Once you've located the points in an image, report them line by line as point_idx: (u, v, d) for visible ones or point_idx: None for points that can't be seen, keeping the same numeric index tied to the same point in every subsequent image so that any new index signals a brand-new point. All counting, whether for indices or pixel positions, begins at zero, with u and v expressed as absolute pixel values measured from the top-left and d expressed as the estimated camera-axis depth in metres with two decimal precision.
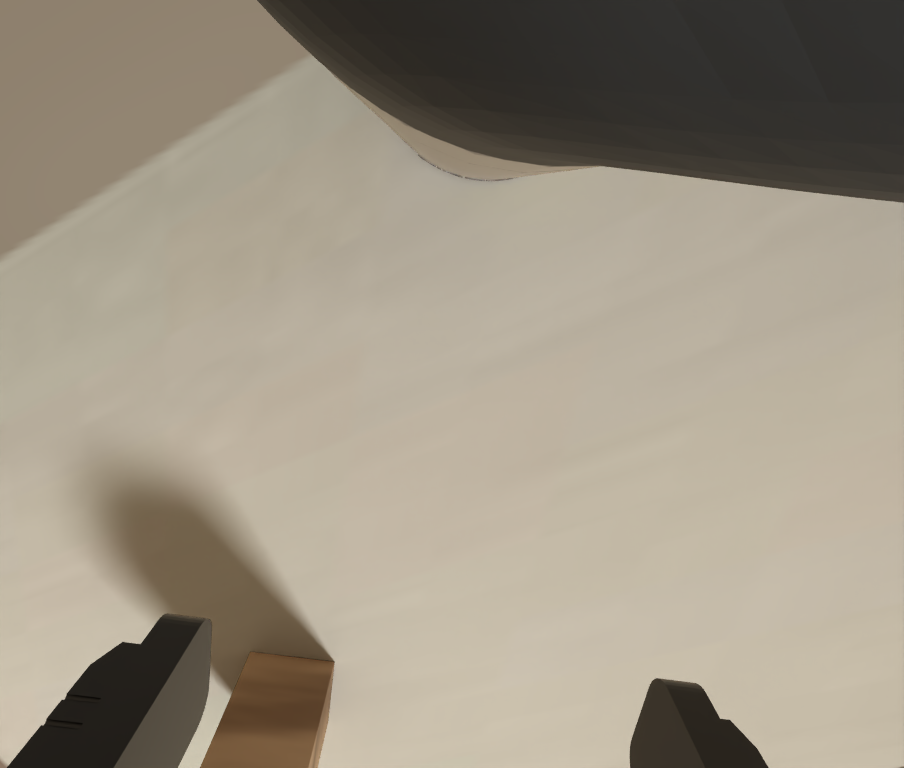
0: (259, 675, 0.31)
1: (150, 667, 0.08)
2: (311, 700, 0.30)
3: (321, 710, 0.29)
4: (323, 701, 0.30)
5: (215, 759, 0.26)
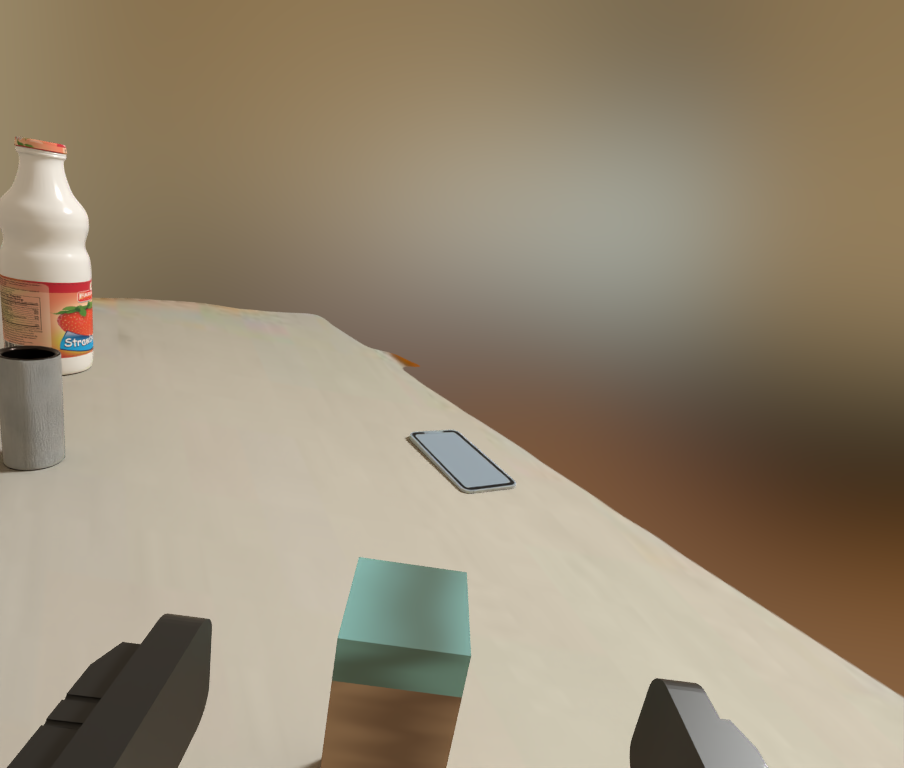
0: None
1: (150, 667, 0.08)
2: None
3: None
4: None
5: None
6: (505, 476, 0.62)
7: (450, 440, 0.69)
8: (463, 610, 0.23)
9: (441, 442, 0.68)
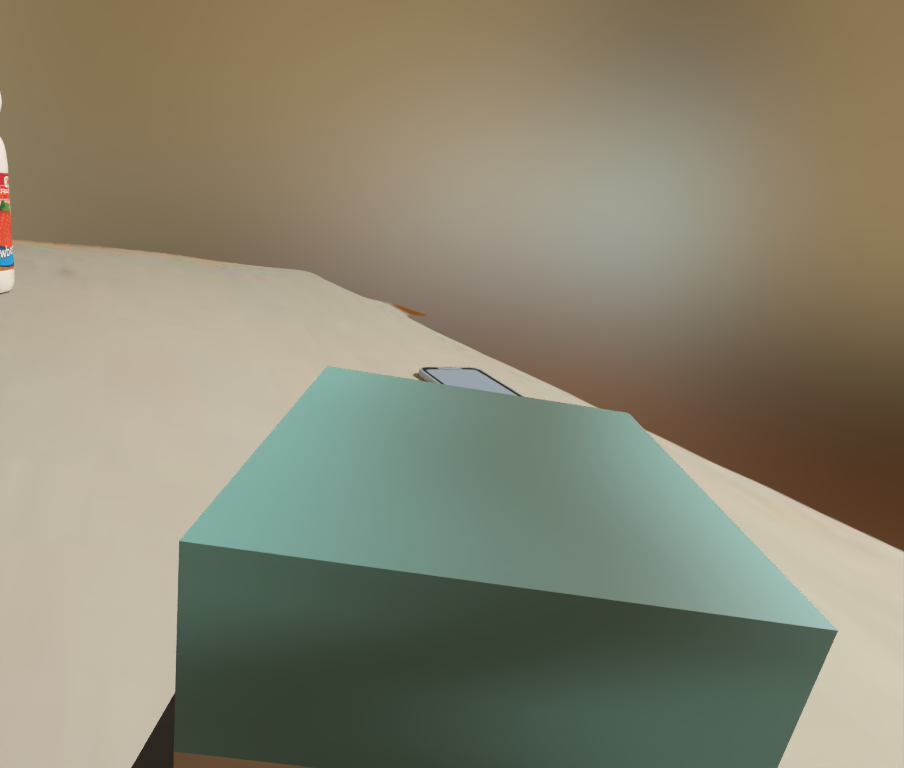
0: None
1: None
2: None
3: None
4: None
5: None
6: None
7: (471, 376, 0.53)
8: (680, 482, 0.06)
9: (460, 378, 0.52)
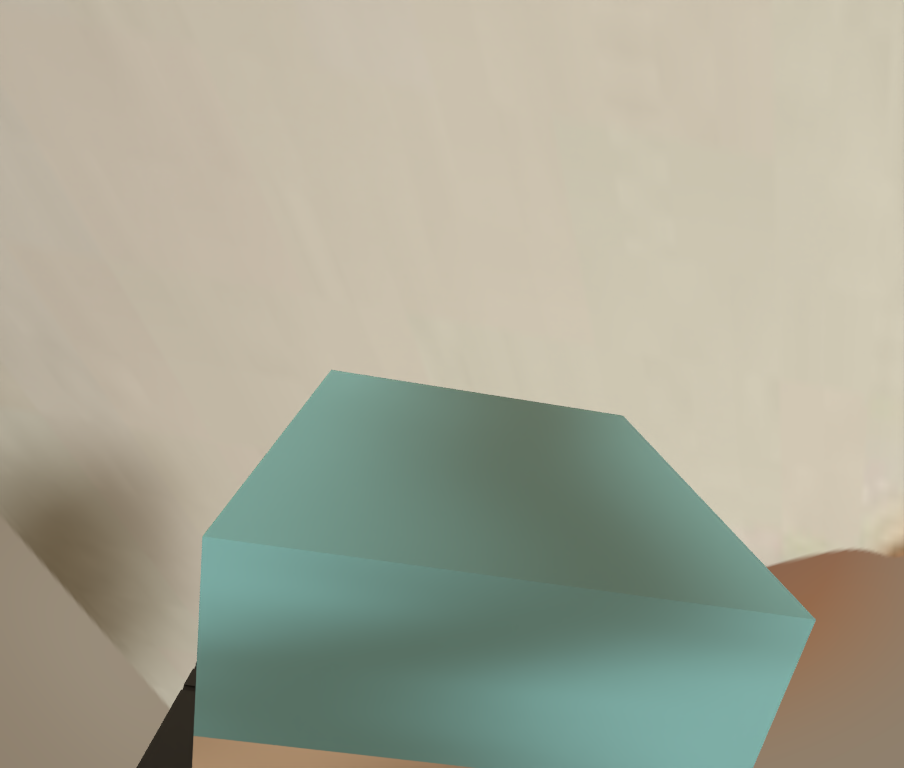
0: None
1: None
2: None
3: None
4: None
5: None
6: None
7: None
8: (671, 482, 0.07)
9: None
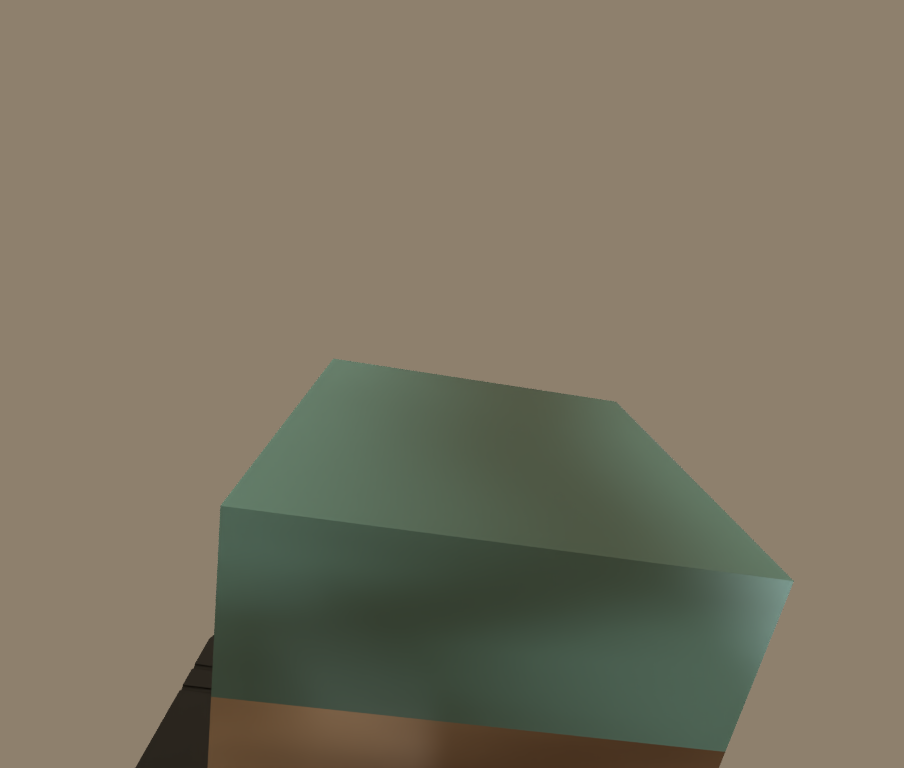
0: None
1: None
2: None
3: None
4: None
5: None
6: None
7: None
8: (662, 462, 0.07)
9: None
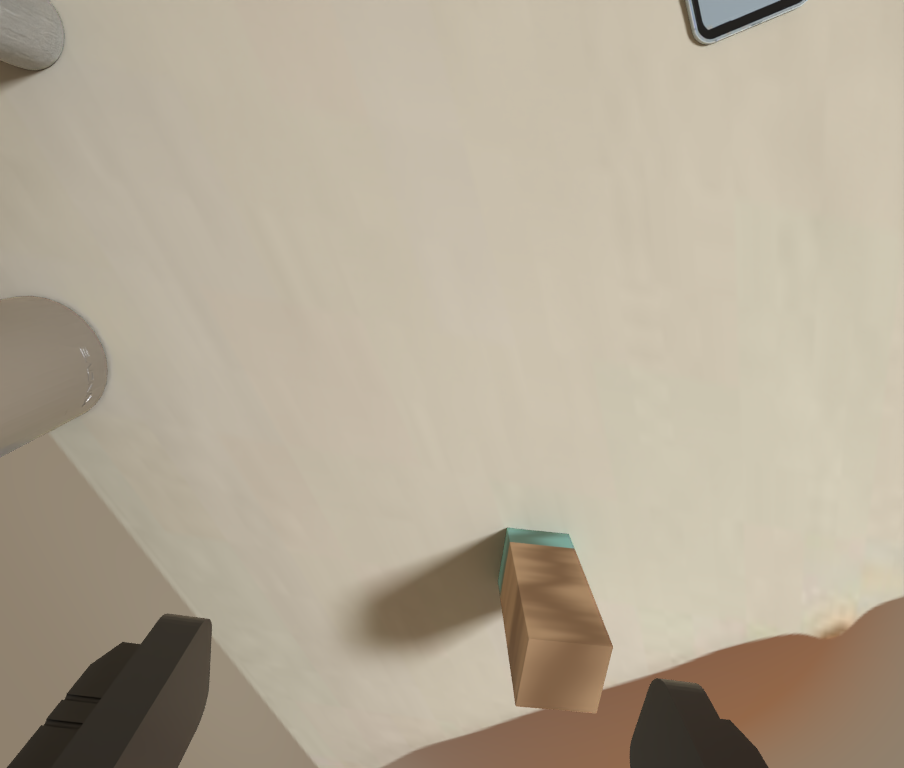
0: (522, 634, 0.33)
1: (150, 667, 0.08)
2: (512, 662, 0.35)
3: (510, 664, 0.36)
4: (511, 670, 0.35)
5: (514, 578, 0.38)
6: None
7: None
8: None
9: None
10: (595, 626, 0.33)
